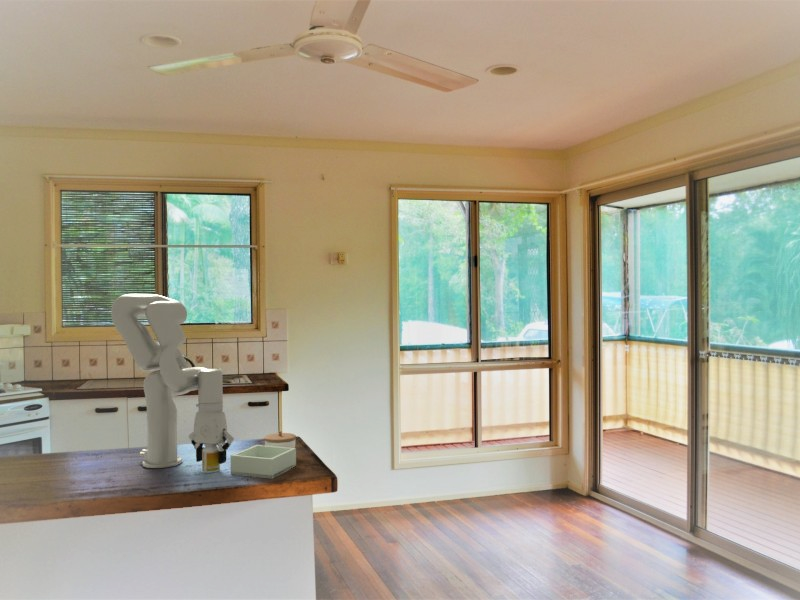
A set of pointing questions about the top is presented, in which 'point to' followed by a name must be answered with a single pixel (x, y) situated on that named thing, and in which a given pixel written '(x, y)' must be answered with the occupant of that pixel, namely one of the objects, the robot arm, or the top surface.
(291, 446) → the lidded jar
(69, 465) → the top surface
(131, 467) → the top surface
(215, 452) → the supplement bottle
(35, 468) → the top surface
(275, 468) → the bin
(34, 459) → the top surface
